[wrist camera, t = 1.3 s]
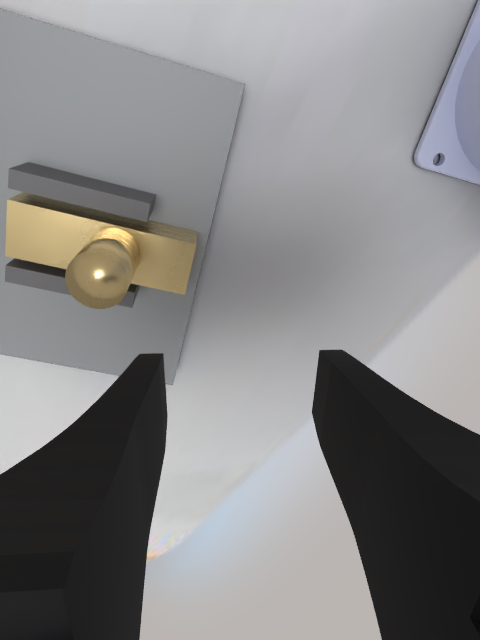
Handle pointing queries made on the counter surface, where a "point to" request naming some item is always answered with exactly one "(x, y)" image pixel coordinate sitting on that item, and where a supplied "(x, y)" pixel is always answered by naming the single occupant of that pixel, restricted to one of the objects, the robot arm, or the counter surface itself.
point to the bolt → (98, 248)
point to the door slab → (104, 182)
